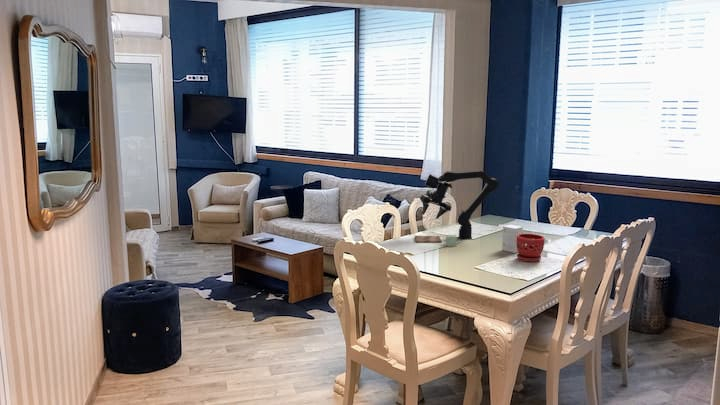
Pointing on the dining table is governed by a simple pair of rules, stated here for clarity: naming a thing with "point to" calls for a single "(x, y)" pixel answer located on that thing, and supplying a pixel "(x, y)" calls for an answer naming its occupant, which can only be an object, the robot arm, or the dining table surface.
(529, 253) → the plant pot
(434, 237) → the walnut board
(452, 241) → the green cube
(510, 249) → the small box
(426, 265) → the dining table surface
